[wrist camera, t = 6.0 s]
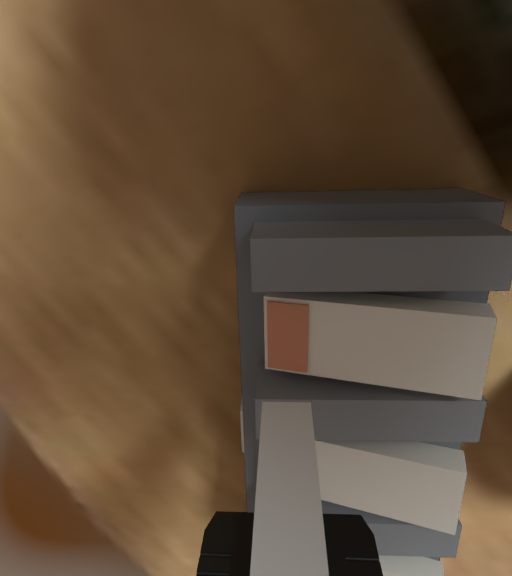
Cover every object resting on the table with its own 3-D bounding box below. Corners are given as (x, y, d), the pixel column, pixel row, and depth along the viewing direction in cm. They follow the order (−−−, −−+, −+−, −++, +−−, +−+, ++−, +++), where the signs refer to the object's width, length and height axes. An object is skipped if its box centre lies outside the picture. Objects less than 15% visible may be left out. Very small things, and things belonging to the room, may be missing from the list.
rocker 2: (275, 412, 24) (265, 431, 23) (463, 450, 21) (467, 475, 20) (275, 466, 26) (266, 487, 24) (452, 509, 23) (455, 537, 21)
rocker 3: (276, 514, 27) (268, 537, 26) (442, 562, 24) (444, 592, 22) (276, 557, 29) (268, 582, 27) (434, 608, 25) (435, 639, 24)
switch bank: (238, 192, 25) (220, 220, 17) (462, 188, 24) (550, 215, 17) (251, 530, 35) (244, 648, 27) (411, 535, 34) (451, 656, 26)
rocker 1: (272, 285, 21) (262, 297, 20) (489, 303, 18) (497, 319, 17) (273, 353, 23) (264, 370, 21) (475, 380, 20) (481, 402, 18)
